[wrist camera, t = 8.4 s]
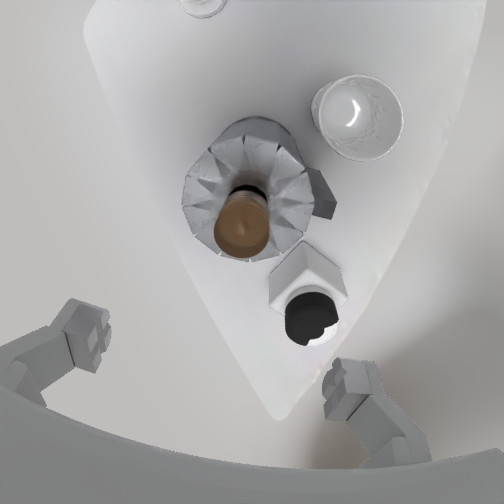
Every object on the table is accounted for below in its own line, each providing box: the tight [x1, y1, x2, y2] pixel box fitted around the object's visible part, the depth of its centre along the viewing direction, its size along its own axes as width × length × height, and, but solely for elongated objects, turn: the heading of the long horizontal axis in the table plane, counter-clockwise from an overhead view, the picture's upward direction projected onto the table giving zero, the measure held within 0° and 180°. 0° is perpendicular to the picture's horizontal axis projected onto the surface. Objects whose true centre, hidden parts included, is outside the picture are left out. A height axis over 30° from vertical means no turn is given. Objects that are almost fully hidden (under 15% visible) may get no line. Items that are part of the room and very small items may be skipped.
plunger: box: [214, 184, 270, 258], centre depth 26 cm, size 7×7×18 cm
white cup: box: [311, 74, 404, 162], centre depth 29 cm, size 8×8×10 cm
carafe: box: [182, 117, 337, 262], centre depth 29 cm, size 10×12×16 cm
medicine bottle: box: [269, 241, 348, 346], centre depth 39 cm, size 7×7×12 cm
